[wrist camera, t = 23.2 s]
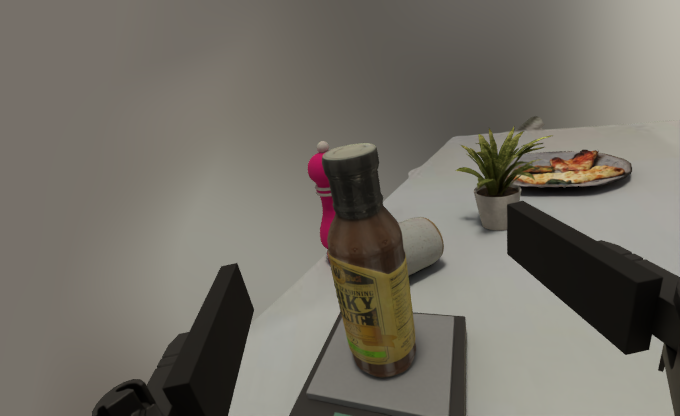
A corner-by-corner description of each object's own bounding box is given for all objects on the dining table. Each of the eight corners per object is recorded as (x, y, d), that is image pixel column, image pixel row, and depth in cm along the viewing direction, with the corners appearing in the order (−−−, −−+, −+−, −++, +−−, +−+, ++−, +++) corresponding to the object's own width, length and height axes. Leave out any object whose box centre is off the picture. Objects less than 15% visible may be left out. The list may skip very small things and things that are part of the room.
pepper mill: (346, 274, 51) (317, 148, 43) (317, 261, 56) (288, 147, 49) (377, 253, 55) (355, 134, 48) (347, 243, 60) (324, 135, 53)
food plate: (617, 156, 72) (619, 141, 71) (647, 196, 54) (650, 176, 53) (493, 163, 85) (493, 150, 84) (483, 197, 67) (482, 181, 65)
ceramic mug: (450, 266, 47) (445, 218, 44) (405, 290, 44) (397, 240, 41) (404, 243, 56) (397, 202, 54) (364, 262, 53) (355, 219, 50)
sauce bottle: (340, 353, 32) (288, 157, 25) (388, 321, 35) (354, 136, 28) (382, 398, 27) (332, 166, 20) (434, 355, 30) (408, 139, 22)
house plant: (538, 255, 45) (541, 139, 39) (442, 240, 54) (433, 144, 48) (555, 213, 55) (560, 115, 49) (471, 206, 64) (466, 122, 58)
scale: (295, 434, 29) (286, 409, 28) (346, 322, 41) (341, 301, 40) (465, 477, 23) (462, 448, 22) (466, 333, 35) (464, 310, 34)
